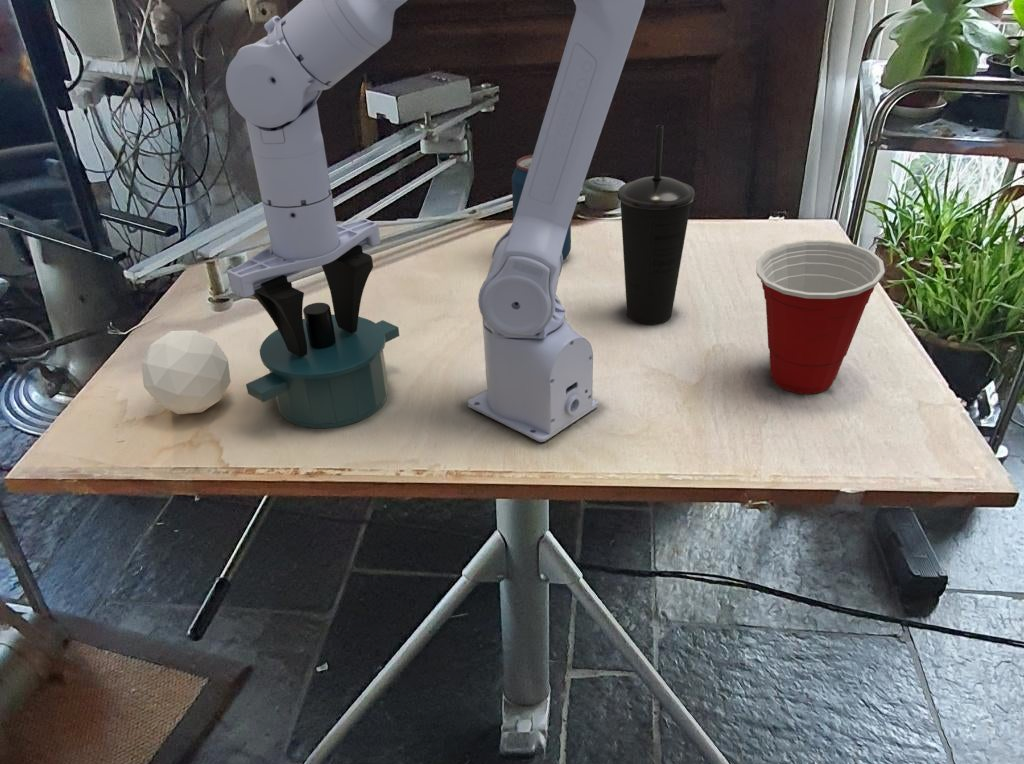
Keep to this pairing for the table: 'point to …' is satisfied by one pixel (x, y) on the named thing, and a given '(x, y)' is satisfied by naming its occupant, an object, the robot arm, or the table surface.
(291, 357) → the lid
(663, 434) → the table surface
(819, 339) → the plastic cup
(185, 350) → the ball
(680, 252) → the drinking cup
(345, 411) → the pot
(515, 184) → the soda can
